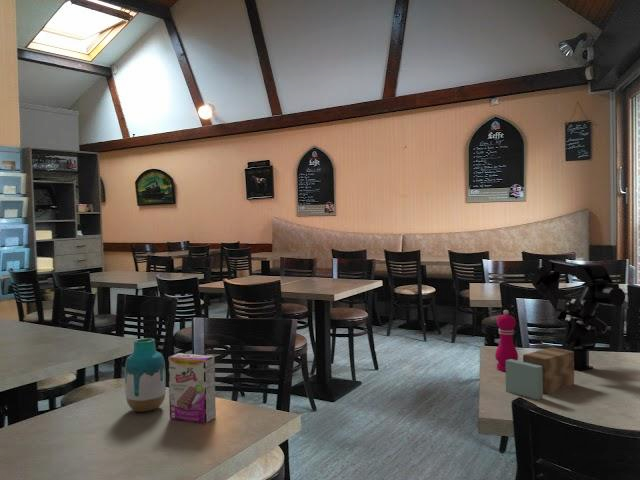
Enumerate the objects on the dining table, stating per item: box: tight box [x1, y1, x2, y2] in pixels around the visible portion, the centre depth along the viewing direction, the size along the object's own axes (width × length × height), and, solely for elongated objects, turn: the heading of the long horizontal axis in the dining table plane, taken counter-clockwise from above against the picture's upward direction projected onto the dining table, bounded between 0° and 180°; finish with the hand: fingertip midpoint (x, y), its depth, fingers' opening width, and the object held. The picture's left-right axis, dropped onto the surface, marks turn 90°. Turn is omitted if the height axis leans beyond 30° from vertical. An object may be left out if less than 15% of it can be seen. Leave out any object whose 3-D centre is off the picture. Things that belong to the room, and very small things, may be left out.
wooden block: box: [522, 347, 575, 395], centre depth 154 cm, size 15×7×10 cm, turn 124°
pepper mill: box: [494, 309, 519, 373], centre depth 172 cm, size 7×7×20 cm
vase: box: [124, 337, 167, 413], centre depth 141 cm, size 11×11×19 cm
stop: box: [505, 359, 544, 401], centre depth 147 cm, size 2×10×9 cm, turn 35°
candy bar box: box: [167, 352, 217, 424], centre depth 133 cm, size 11×5×16 cm, turn 71°
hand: (566, 344), depth 163 cm, fingers closed
